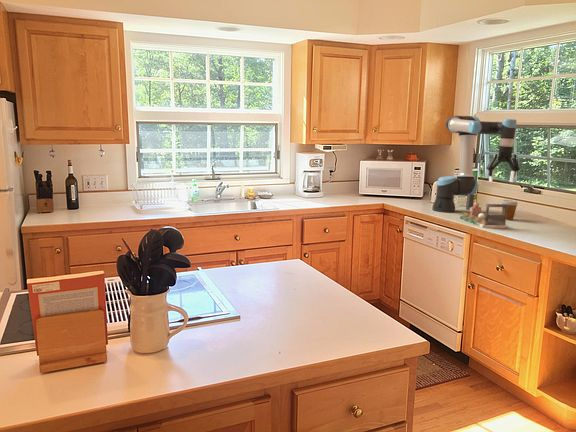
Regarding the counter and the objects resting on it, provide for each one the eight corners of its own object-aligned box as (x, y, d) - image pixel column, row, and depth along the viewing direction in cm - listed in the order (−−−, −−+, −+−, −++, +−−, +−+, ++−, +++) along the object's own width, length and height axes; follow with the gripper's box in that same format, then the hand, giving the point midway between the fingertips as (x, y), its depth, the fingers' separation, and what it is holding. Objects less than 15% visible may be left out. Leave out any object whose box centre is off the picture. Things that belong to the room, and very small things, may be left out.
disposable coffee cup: (512, 218, 311) (514, 200, 309) (517, 221, 302) (520, 202, 299) (497, 217, 312) (499, 199, 310) (502, 220, 303) (504, 201, 300)
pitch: (459, 218, 304) (462, 197, 301) (482, 218, 306) (485, 197, 303) (482, 227, 278) (485, 204, 276) (507, 227, 281) (510, 204, 278)
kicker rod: (463, 213, 309) (465, 193, 307) (471, 213, 310) (473, 193, 308) (472, 217, 299) (474, 196, 296) (480, 217, 300) (483, 196, 297)
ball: (476, 219, 296) (477, 212, 295) (482, 219, 296) (483, 212, 295) (479, 220, 292) (480, 214, 291) (485, 220, 292) (486, 214, 292)
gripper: (490, 145, 273) (485, 182, 278) (529, 147, 278) (523, 183, 282) (483, 144, 281) (478, 180, 285) (521, 146, 285) (516, 181, 290)
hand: (501, 181), depth 284 cm, fingers open, 13 cm apart
